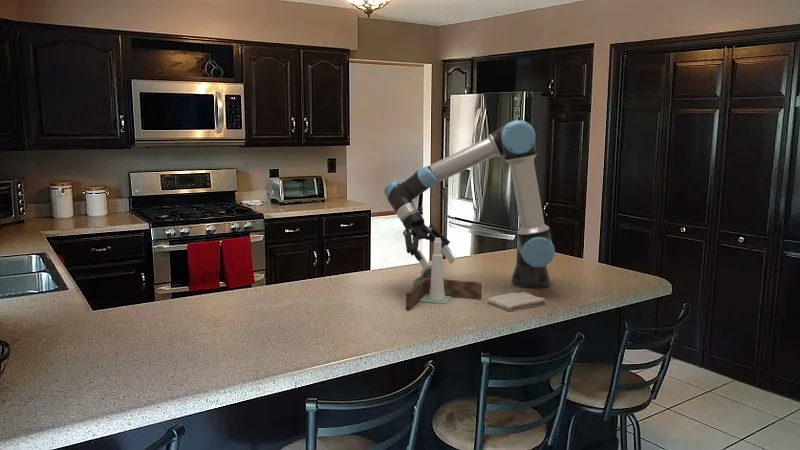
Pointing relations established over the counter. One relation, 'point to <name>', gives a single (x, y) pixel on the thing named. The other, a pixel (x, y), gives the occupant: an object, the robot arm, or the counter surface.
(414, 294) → the walnut corner walls
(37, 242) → the counter surface
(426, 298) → the mat
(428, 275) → the ceramic mug
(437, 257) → the cosmetic bottle
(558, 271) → the counter surface
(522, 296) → the washcloth
